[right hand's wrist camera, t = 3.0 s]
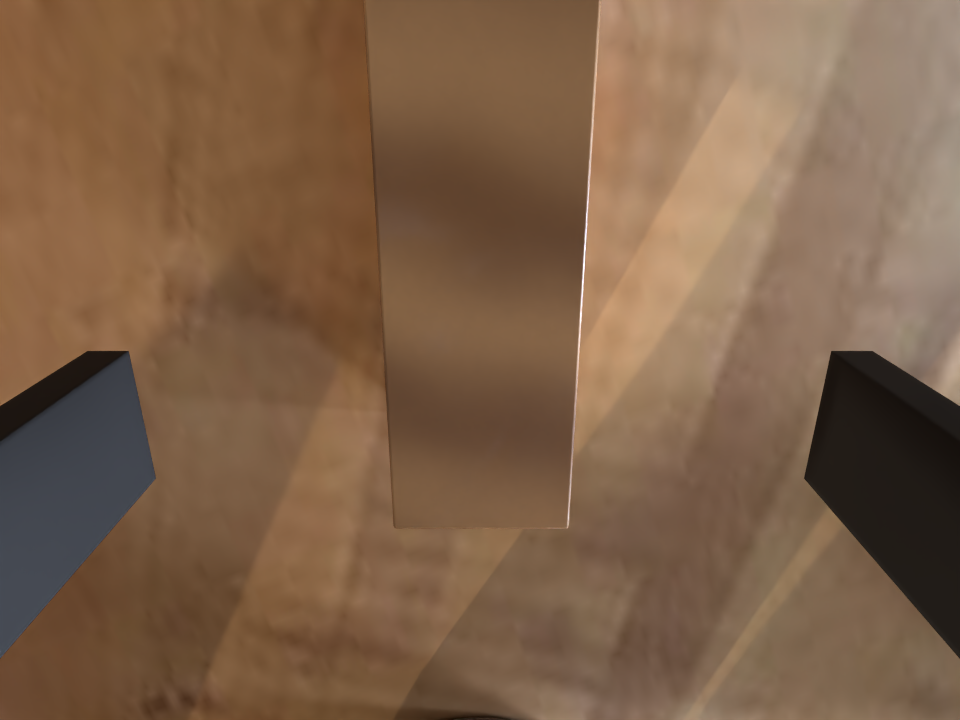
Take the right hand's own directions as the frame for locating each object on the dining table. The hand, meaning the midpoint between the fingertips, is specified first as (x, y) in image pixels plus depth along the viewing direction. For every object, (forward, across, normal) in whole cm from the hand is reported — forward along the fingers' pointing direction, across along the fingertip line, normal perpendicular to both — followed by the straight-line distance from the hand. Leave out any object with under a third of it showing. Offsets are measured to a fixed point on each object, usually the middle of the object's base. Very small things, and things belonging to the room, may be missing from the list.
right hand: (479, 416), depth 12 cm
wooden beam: (+16, 0, -25) cm, 29 cm away
